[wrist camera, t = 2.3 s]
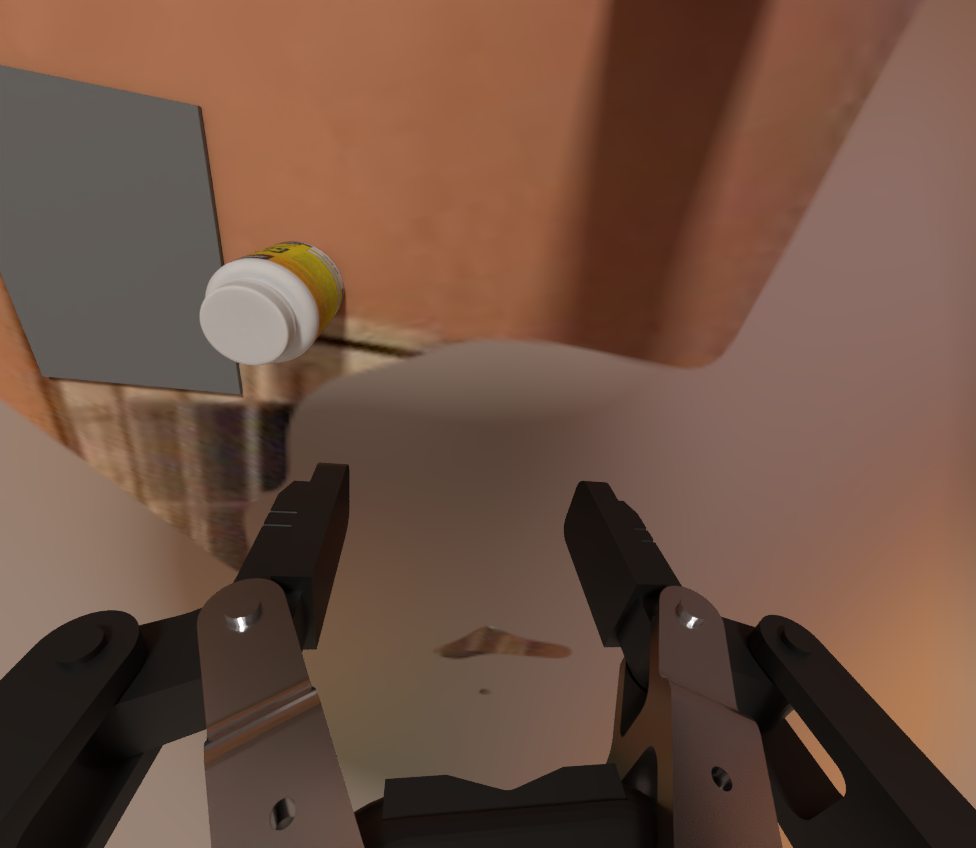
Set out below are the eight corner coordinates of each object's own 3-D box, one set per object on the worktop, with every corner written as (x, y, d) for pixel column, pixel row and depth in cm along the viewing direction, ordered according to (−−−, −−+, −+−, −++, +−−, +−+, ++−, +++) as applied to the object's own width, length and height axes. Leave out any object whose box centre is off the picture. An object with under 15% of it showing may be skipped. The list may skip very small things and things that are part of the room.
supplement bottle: (309, 223, 26) (246, 242, 18) (361, 299, 29) (330, 348, 20) (241, 266, 27) (150, 305, 18) (298, 336, 30) (242, 399, 21)
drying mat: (200, 106, 23) (197, 105, 23) (242, 392, 32) (240, 394, 31) (-83, 48, 21) (-92, 46, 20) (47, 374, 29) (42, 376, 29)
